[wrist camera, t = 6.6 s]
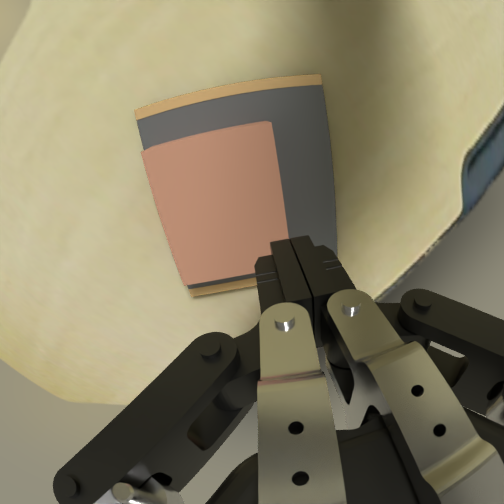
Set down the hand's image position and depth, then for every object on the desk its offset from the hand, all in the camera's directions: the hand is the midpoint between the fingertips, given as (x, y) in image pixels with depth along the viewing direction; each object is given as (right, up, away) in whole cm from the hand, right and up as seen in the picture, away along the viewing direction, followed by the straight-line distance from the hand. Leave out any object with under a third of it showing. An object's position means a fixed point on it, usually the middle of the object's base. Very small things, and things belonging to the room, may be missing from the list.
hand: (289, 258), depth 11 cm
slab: (0, +4, +8) cm, 9 cm away
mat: (-2, +5, +9) cm, 10 cm away
